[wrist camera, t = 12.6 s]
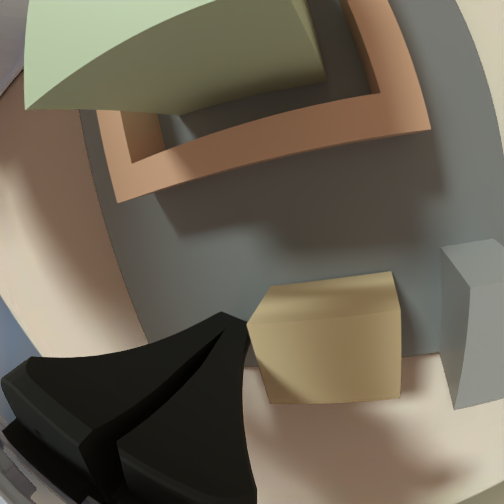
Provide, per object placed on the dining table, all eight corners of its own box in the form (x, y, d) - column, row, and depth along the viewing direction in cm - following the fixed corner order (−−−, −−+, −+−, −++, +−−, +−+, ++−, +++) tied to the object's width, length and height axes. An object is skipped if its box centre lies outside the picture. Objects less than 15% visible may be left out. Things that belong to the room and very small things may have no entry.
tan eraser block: (288, 357, 11) (270, 403, 9) (270, 286, 10) (246, 324, 8) (395, 349, 10) (400, 397, 7) (391, 271, 9) (400, 310, 7)
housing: (165, 353, 14) (121, 400, 11) (79, -8, 10) (26, -22, 6) (494, 328, 9) (527, 390, 6) (361, -118, 4) (352, -169, 1)
